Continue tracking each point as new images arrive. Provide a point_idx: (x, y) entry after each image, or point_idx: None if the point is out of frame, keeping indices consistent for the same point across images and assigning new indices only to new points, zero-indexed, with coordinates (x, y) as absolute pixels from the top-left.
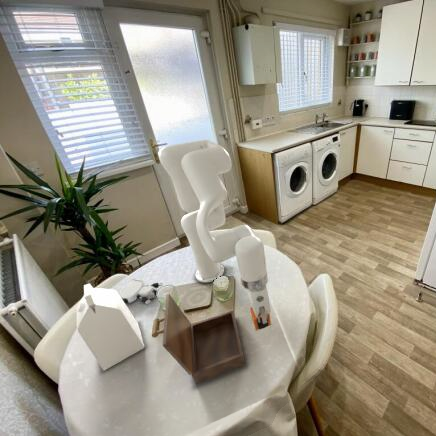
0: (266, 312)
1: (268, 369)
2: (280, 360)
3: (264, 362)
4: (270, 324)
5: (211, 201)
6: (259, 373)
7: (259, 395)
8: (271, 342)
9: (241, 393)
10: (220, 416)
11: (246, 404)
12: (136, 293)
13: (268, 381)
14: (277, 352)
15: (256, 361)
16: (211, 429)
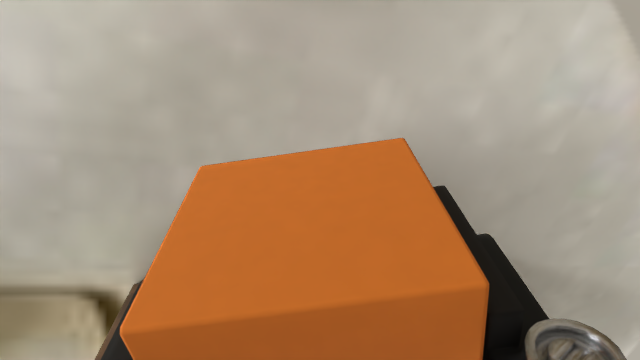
0: (411, 331)
1: (535, 123)
2: (520, 33)
3: (481, 141)
4: (409, 149)
5: None
6: (529, 176)
7: (634, 186)
8: (361, 75)
9: (572, 260)
10: (606, 327)
11: (631, 243)
12: None
13: (599, 133)
14: (454, 43)
15: (453, 185)
16: (627, 349)
